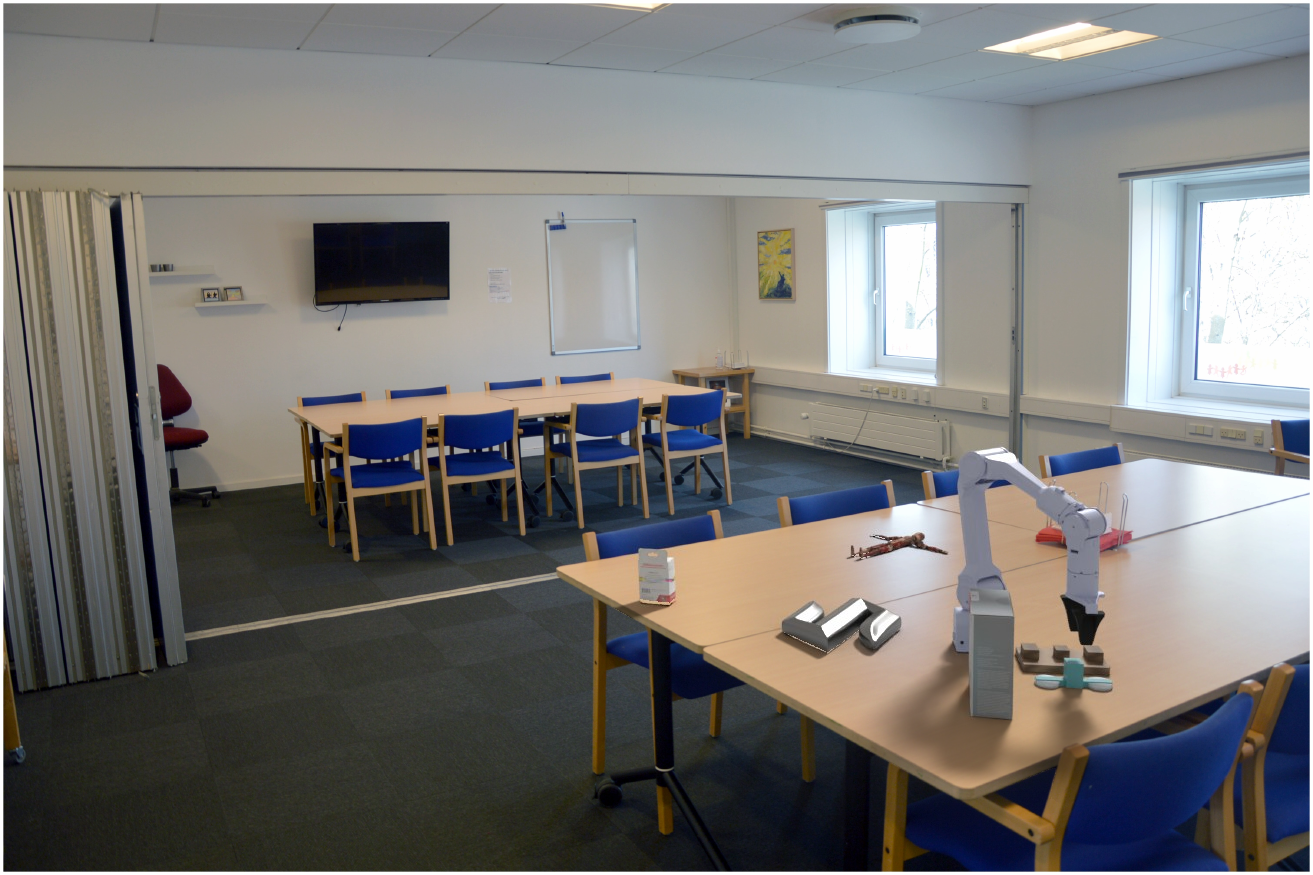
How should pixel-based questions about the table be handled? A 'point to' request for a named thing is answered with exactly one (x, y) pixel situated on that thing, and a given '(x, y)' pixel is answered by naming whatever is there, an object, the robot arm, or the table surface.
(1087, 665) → the display stand
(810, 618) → the emblem
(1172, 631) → the table surface
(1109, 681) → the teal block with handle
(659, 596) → the ink cartridge box
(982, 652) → the hard drive box
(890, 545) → the mannequin
